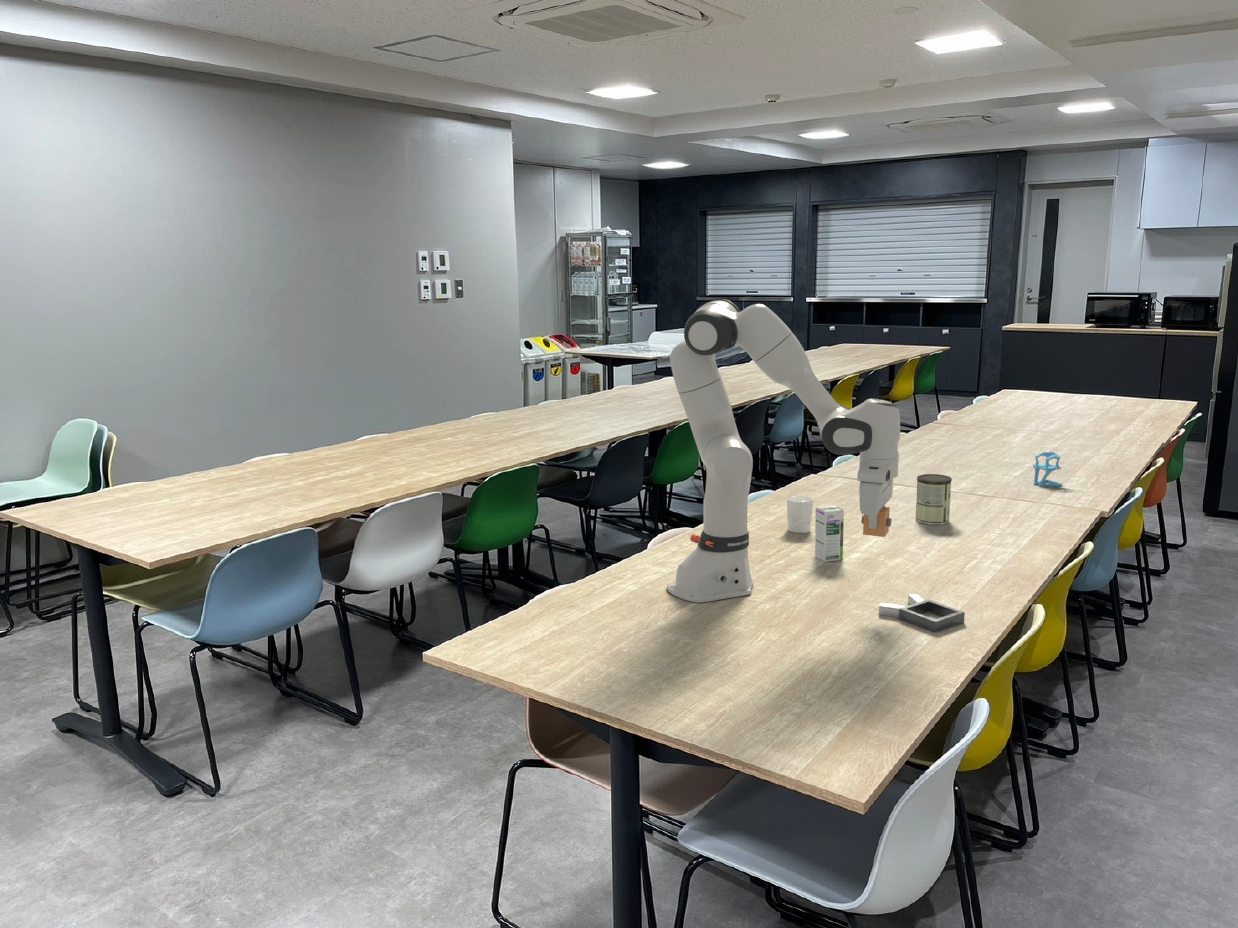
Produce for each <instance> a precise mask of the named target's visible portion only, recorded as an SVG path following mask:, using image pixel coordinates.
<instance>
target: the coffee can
mask: <svg viewBox="0 0 1238 928" xmlns="http://www.w3.org/2000/svg"><path fill="white" fill-rule="evenodd" d="M916 479H917V480H916V483H917V484H916V503H915V504H916V505H915V521H916V522H917V523H919V524H923V525H931V526H940V525H947V524H949V523H950V508H951V507H950V506H951V495H952V493H951V492H952V490H951V489H952V480H953V478H952V477H951V476H948V475H946V474H937V473H936V474H935V473H925V474H920V475H918V476H916Z"/></svg>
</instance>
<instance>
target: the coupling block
mask: <svg viewBox="0 0 1238 928" xmlns="http://www.w3.org/2000/svg"><path fill="white" fill-rule="evenodd" d="M890 509H891V508H890V507H889V506H885V507H883V508H882V509H881V510H880V511H879V512H878V515H877V520H878V526H877V528H876V529H871V528H869V519H868V515H864V514H862V516H861V522H860V523H861V524H863V525H862V535H863V536H864V535H865V536H872V537H882V538H886V536H887V534H888V533H889V529H890V527H891V525H892V518H890Z"/></svg>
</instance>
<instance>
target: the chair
mask: <svg viewBox="0 0 1238 928" xmlns="http://www.w3.org/2000/svg"><path fill="white" fill-rule="evenodd" d="M1040 457H1046V458H1045V463H1042V464H1039V458H1040ZM1034 458H1035V464H1033V466H1032V468H1034V477H1033V484H1032V485H1033V486H1038V487H1043V488H1044V487H1063V483H1061V482H1058V481H1054V480H1050V479H1047V478H1048V476H1049V475H1050V474H1051V473H1052V472H1054V471H1057V470H1061V466H1059V462H1060V460H1061V456H1060V455H1059V454H1058V453H1055V452H1053V451H1050V452H1045V451H1044V452H1041V453H1039V454H1036V455H1035V456H1034ZM1053 459H1055V460H1056V461H1055V465H1054V464H1051V463H1049V462H1050V460H1053ZM1040 470H1042V471H1045V473H1044V475H1043V477H1042V479H1041V480H1039V474H1040Z"/></svg>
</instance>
